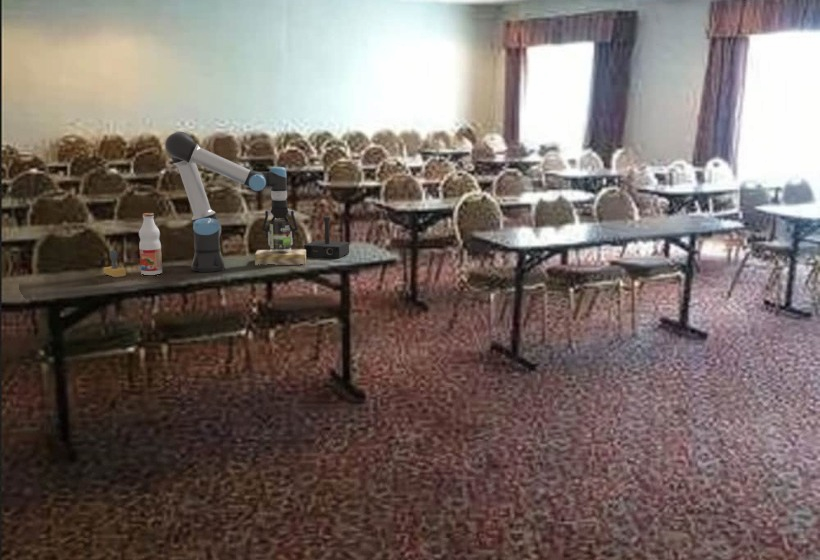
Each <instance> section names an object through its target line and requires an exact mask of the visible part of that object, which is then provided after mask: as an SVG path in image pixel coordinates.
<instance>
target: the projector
mask: <svg viewBox="0 0 820 560" xmlns="http://www.w3.org/2000/svg"><path fill="white" fill-rule="evenodd" d="M322 219H323V220H322V221H324V240H313V241H311V242H309V243H305V244H304V245H303V248H304V249H306V257H307V256H311V258H320V257H326V258H325V259H341V258H343V257H344V255H345V256H347V255H349V254H350V242H347V241H331V240H330V221H331V216H323V218H322ZM346 254H347V255H346ZM342 256H343V257H342ZM340 257H341V258H340Z"/></svg>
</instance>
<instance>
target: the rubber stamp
mask: <svg viewBox="0 0 820 560" xmlns="http://www.w3.org/2000/svg"><path fill="white" fill-rule="evenodd" d="M118 255H119V254H118V252H117V251H116V250H115V249H112V250H110V252H109V258H110V260H111V263H112V266H105V267H103V274H104V273H106V274H109V275H112V276H118V275H126V276H127V270H126V268H124V267H121V266H117V260H118Z"/></svg>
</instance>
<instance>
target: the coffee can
mask: <svg viewBox="0 0 820 560" xmlns="http://www.w3.org/2000/svg"><path fill="white" fill-rule="evenodd" d="M271 220H272V219H271ZM271 220H269V221H268V222H269V223H270V229H269V231H270V245H269V250H272V251H287V250H292V245H291V239H290V231H291V229H290V223H291V221H292V220H289V219H288V220H289V221H288V222H286V221H285V219H275V220H274V221H273V222H271ZM269 223H268V224H269Z"/></svg>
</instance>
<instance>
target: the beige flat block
mask: <svg viewBox="0 0 820 560" xmlns="http://www.w3.org/2000/svg"><path fill="white" fill-rule="evenodd" d="M306 262H307V256H306V249H302V248H301V249H291V250H287V251H272V250H270V249H257V250H256V252H255V253H254V266H261V265H260V264H265V265H264V266H268V265H267V264H275V265H274V266H280V265H281V266H286V265H287V266H288V265H289V266H292V265H293V266H294V265H296V266H297V265H300V264H303V266H304V265H306ZM258 264H259V265H258Z"/></svg>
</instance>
